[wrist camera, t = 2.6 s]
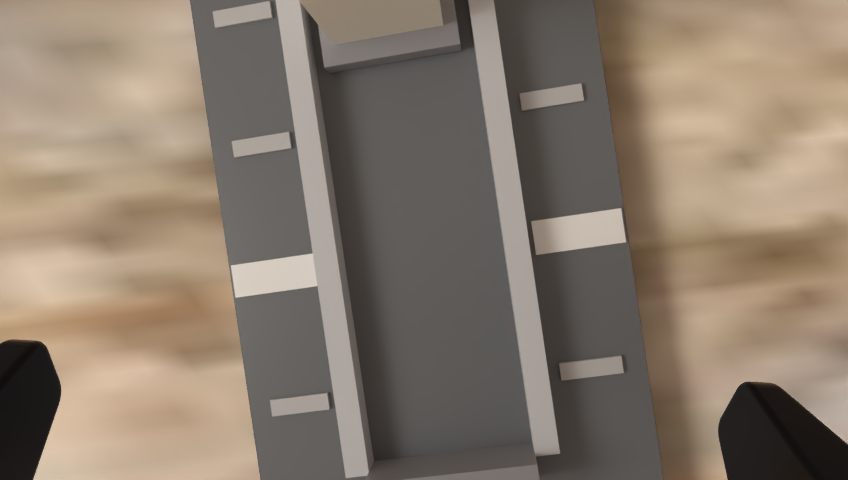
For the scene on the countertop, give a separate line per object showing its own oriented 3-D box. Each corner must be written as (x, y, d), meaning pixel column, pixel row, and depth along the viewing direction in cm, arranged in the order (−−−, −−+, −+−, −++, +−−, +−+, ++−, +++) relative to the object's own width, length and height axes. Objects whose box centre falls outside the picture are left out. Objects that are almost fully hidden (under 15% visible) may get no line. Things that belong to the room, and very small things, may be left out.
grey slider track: (659, 512, 20) (690, 561, 17) (285, 551, 21) (253, 603, 18) (547, -256, 20) (558, -340, 17) (178, -177, 21) (128, -243, 18)
